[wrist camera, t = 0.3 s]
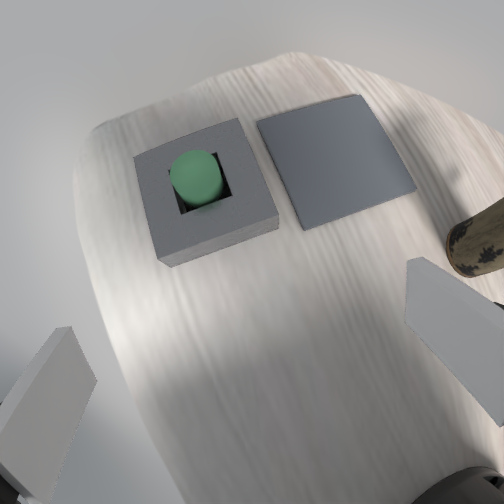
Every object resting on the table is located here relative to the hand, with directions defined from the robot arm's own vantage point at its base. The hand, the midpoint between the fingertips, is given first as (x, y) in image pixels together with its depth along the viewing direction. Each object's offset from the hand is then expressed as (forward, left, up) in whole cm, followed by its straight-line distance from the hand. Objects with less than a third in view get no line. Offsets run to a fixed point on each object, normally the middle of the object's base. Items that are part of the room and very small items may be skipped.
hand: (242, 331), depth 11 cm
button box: (+13, +1, -15) cm, 20 cm away
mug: (0, -22, -16) cm, 27 cm away
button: (+13, +1, -13) cm, 18 cm away
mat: (+13, -12, -15) cm, 23 cm away
